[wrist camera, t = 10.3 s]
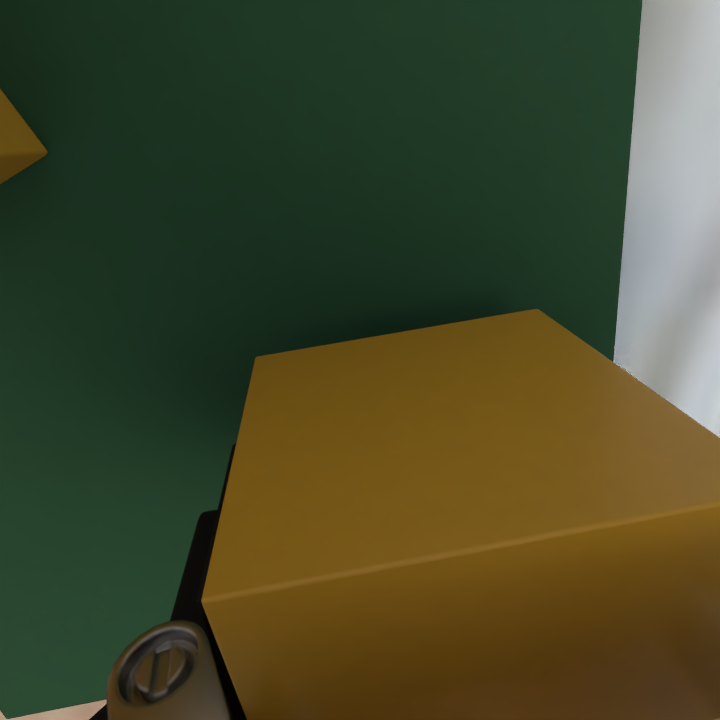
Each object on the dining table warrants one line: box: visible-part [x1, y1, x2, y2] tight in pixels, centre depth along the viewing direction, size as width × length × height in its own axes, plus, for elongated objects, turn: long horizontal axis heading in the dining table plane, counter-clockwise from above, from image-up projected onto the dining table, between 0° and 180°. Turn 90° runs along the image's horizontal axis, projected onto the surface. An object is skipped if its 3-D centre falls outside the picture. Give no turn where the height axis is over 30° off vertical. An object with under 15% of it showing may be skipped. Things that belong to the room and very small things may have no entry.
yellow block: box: [201, 309, 720, 720], centre depth 9 cm, size 6×6×6 cm
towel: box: [0, 0, 642, 719], centre depth 12 cm, size 20×22×1 cm
